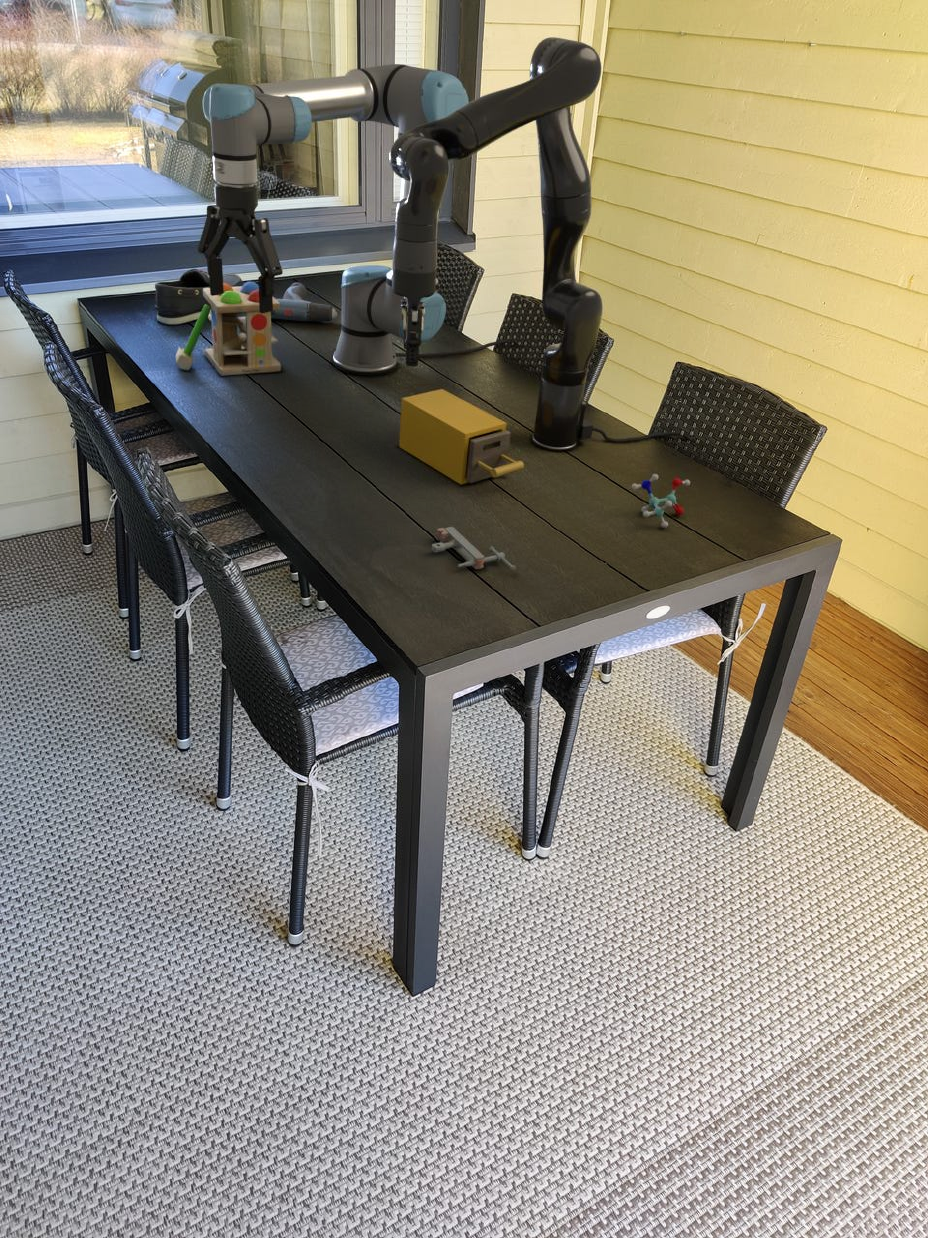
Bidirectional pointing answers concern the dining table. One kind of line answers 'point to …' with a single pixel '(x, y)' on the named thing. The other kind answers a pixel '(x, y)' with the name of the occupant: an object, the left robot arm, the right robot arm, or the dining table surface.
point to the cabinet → (443, 430)
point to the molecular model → (654, 501)
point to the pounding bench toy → (235, 333)
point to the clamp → (465, 549)
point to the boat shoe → (186, 296)
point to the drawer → (490, 456)
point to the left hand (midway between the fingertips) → (241, 302)
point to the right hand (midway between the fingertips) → (410, 356)
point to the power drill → (301, 307)
